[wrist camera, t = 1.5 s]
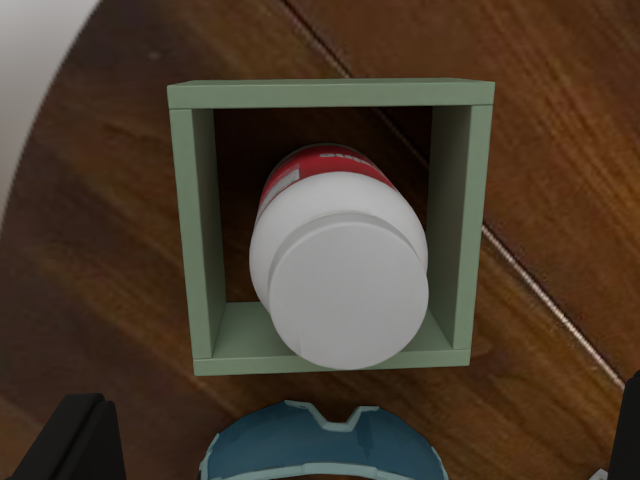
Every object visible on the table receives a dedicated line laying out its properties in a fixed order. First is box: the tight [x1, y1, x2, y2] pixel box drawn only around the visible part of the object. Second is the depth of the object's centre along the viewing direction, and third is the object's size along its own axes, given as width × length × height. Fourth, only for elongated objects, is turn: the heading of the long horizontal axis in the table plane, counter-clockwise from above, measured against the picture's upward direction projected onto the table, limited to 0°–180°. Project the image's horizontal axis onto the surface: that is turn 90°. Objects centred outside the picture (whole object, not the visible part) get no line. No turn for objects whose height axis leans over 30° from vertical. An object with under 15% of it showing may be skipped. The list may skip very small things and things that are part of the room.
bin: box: [167, 78, 495, 376], centre depth 23 cm, size 12×12×6 cm
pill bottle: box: [249, 143, 429, 370], centre depth 21 cm, size 6×6×11 cm
